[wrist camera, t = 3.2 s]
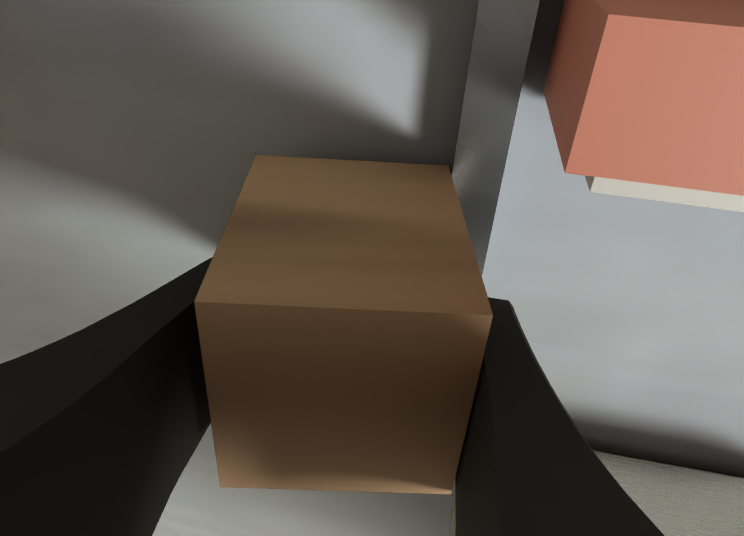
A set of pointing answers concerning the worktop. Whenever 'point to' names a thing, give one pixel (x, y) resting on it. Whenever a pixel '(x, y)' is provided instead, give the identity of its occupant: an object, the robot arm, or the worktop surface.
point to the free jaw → (651, 98)
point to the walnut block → (342, 328)
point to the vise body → (478, 203)
